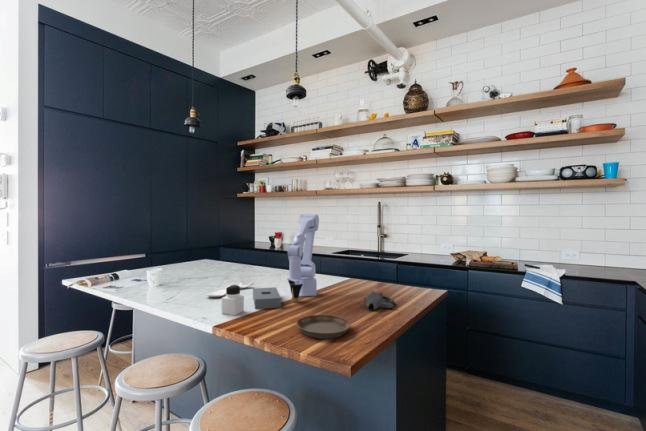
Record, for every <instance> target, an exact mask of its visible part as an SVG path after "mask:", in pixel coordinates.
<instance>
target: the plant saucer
mask: <svg viewBox="0 0 646 431" xmlns="http://www.w3.org/2000/svg"><path fill="white" fill-rule="evenodd" d="M296 326H297V328H298V329H299V330H300V332H302V334H304V335H306V336H308V337H310V338H315V339H335V338H338V337H341V336H342V335H344V334H345V333H347V332H348V330H349V329H350V327H351V323H350V322H349V321H348V320H347V319H346V318H344V317H340V316H336V315H330V314H314V315H313V314H312V315H307V316H303V317H301V318H299V319H298V320H297V321H296Z"/></svg>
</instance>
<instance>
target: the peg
mask: <svg viewBox="0 0 646 431" xmlns="http://www.w3.org/2000/svg"><path fill="white" fill-rule="evenodd" d="M293 284H295V283H293ZM298 302H299V298H294V295H293V289H292V294H291V303H293V304H295V303H298Z"/></svg>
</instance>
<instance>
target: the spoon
mask: <svg viewBox="0 0 646 431" xmlns="http://www.w3.org/2000/svg"><path fill="white" fill-rule="evenodd" d="M254 284H255V283H254V282H251V283H250V282H249V283H247V282H244V281H243V280H242V281H241V282H240V283H238V286H239V287H240V289H246V288H248V287H251V286H253V285H254ZM205 295H206V297H207V296H208V297H211V298H220V297H221V298H222V297H224V296H226V288H224V289H221V290H217V291H212V292H208V293H206V294H205Z"/></svg>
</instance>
